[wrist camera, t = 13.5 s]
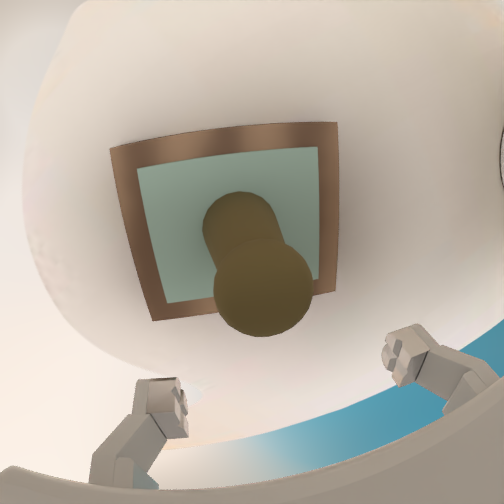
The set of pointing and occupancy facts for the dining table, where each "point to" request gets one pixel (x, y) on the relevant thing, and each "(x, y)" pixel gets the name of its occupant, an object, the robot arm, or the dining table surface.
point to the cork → (255, 267)
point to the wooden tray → (215, 186)
